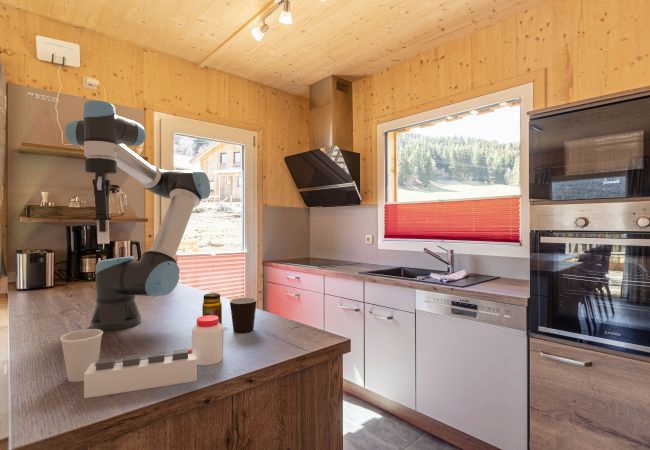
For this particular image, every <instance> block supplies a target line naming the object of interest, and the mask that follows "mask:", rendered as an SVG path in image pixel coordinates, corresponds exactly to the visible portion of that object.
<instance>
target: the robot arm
mask: <svg viewBox="0 0 650 450" xmlns="http://www.w3.org/2000/svg"><path fill="white" fill-rule="evenodd" d="M82 118H83V119H79V120H72V121H69V122H68V123H66V125H65V129H64V135H65V137H66V139H67V140H68V141H67V142H69V143H70V144H72V145H73V146H76V147H77V146H79V147H84V149H83V150H84V151H83V153H84V157H86V159H85V160H84V169H85V170H84V171H85V172H86V173H88V174H94V175H95V176H94V177H95V178H93V179H92V185H93V195H94V207H95V208H94V209H95V217H93V221H96V235H97V237H96V239H97V244H98V245H102V244H103V245H104V244H105V245H106V244H110V223H109V222H110V221H112V217H110V194H111V191H110V189H111V180H110V179H108V175H115V174H117V173H118V168H119V169H120V170H122V171H123V172H124V173H126V174H127V175H129V176H130V177H132V178H134V180H137V181H138V183H139V184H138V185H140V186H141V187H142V188H144V189H146V190H147V191H149V192H150V193H152V194H155V195H157V196H160V197H161V198H165V199H170V202H169V206H168V207H167V210H166V211H165V213H164V216H163V218H162V222H161V223H160V225H159V228H158V231H157V233H156V235H155V237H154V239H153V241H152V244H151V246H150V248H149V249H148V250H146V251H143V253H142V255H141V257H140V259H139V260H136V258H135V256H133V255H131V256H130V255H129V256H124V257H122V256H121V257H114V258H109V259H102V260H99V261H98V262H96V264H95V273H94V274H95V296H96V297H95V298H96V299H95V300H96V304H95V307H94V309H93V313H92V316H91V318H90V324H89V326H90V328H89V329H99V330H102V331H103V332H105V331H106V332H108V331H110V332H111V331H118V330H123V329H124V330H125V329H128V328H131V327H135V326H137V325H139V324H140V323H141V322H142V316H141V315H142V314H141V312H140V309H139V307H138V304H137V302H136V296H142V297H143V296H144V297H148V296H149V297H165V296H167V295H169V294H171V293H172V292H173V291H174V290H175V289H176V287H177V285H178V283H179V280H180V272H181V271H180V266H179V265H178V261H177V259H176V258H175V257H176V255H177V253H178V249H179V248H180V245H181V241H182V240H183V236H184V233H185V231H186V229H187V226H188V224H189V220H190V218H191V215H192V214H193V210H194V209H195V208H197V207H198V206H200V203H201V200H202V199H203V200H205V199H208V198H209V197H210V195H211V183H210V179H209V177H208V175H207V173H206V172H205V171H203V170H202V169H188V170H186V169H185V170H184V169H182V170H181V169H179V170H178V169H177V170H169V169H168V170H167V169H161V168H159V167H158V166H156V165H151V164H150V163H149V162H148V161H146V160H145V159H144V158H143V157H141V156H139V154H137V153H135V152H134V151H133V150H132V149H130V148H129V146H130V147H138V146H141V145H142V144H143V143H144V142H145V141H146V135H147V133H146V129H145V128H144V126H143V125H142V124H141V123H138V122H136V121H135V120H132V119H128V118H125V117H123V116H120V115H117V111H116V106H115V105H114V104H112V103H110V102H108V101H103V100H87V101H86V102H84V103H83V113H82ZM127 146H128V147H127Z"/></svg>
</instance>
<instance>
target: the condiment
mask: <svg viewBox="0 0 650 450" xmlns="http://www.w3.org/2000/svg"><path fill="white" fill-rule="evenodd" d="M222 304H223V303H222V302H221V294H220V293H219V292H218V293H217V292H214V293H213V292H211V293H205V294H204V295H203V303H202V306H201V308H202V310H201V311H202V312H201V313H202V316H207V315H215V316H218V317H219V323H220V324H221V325H222V326H223V312H222V310H223V309H222V308H223V307H222V306H223V305H222ZM224 330H227V327H224V326H223V331H224Z"/></svg>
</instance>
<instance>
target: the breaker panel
mask: <svg viewBox="0 0 650 450" xmlns="http://www.w3.org/2000/svg"><path fill="white" fill-rule="evenodd" d="M197 381H198V365H197V353H196V350H193V351H192V348H184V349H183V348H182V349H175V350H172V352H169V353H166V352H165V351H158V352H151V353H150V352H149V354H148V355H144V356H141V354H134V355H128V356H125V355H124V357H123V358H120V359H116V357H110V358H102V359H99V360H98V361H97V362H96V363H91V364H90V366H89V367H88V369H87V370H86V372H85V373H84V381H83V399H89V398H97V397H102V396H109V395H114V394H122V393H128V392H133V391H142V390H147V389H153V388H159V387H160V388H162V387H167V386H173V385H179V384H181V385H182V384H185V383H193V382H197Z"/></svg>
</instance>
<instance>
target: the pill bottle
mask: <svg viewBox="0 0 650 450" xmlns="http://www.w3.org/2000/svg"><path fill="white" fill-rule="evenodd" d="M223 327H224V326H223V324H222V325H221V324H220V323H219V317H218V316H215V315H207V316H203V315H202V316H198V317H197V318H196V324H195V325H194V326H193V328H192V329H191V338H192V339H191V341H192V342H191V346H192V347H191V349H192V351H193V350H196V353H197V366H201V367H202V366H211V365H212V366H213V365H215V364H218V363H220V362H222V361H223V360H224V330H223Z"/></svg>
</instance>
